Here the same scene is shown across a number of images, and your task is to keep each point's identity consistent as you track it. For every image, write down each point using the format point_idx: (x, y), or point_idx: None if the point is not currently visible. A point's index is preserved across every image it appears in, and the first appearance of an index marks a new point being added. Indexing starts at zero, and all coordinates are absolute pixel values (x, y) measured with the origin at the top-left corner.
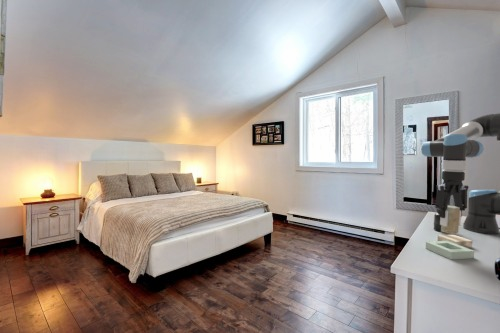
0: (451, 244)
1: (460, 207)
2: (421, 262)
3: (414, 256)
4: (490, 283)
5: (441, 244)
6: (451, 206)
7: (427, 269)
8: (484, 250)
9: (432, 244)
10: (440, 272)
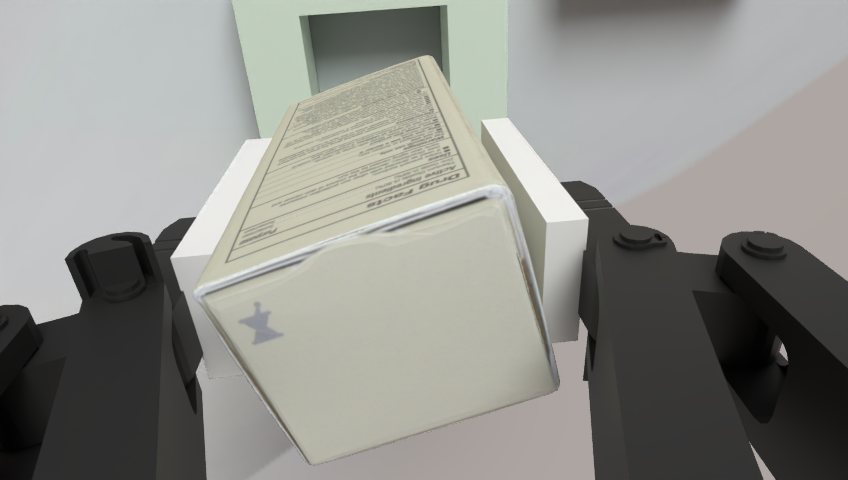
0: (448, 54)
1: (590, 375)
2: (15, 244)
3: (10, 139)
4: (259, 453)
5: (372, 9)
6: (411, 345)
7: None
8: (767, 40)
9: (241, 41)
10: None
